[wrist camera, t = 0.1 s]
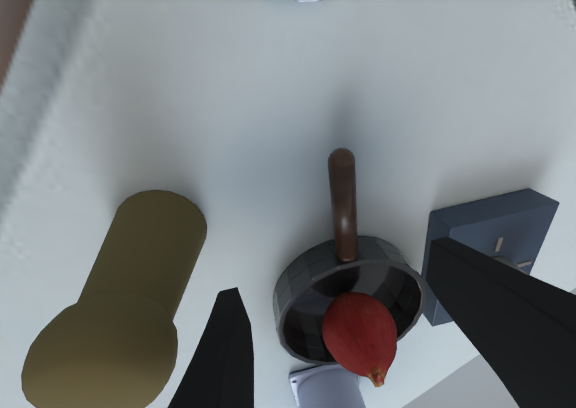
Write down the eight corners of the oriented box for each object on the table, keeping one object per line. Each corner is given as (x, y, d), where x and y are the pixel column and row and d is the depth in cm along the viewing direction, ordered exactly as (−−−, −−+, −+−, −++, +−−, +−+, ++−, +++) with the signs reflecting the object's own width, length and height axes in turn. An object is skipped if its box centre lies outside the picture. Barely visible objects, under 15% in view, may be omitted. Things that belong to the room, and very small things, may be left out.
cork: (223, 218, 19) (211, 377, 10) (180, 272, 21) (136, 451, 12) (139, 173, 17) (14, 330, 7) (98, 239, 19) (-44, 434, 9)
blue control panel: (496, 285, 29) (518, 305, 27) (417, 306, 28) (433, 328, 26) (529, 188, 23) (562, 203, 21) (430, 211, 22) (452, 229, 20)
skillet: (403, 318, 29) (419, 344, 26) (285, 348, 28) (290, 378, 26) (412, 220, 22) (435, 242, 20) (259, 256, 22) (262, 284, 19)
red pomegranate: (383, 275, 25) (440, 361, 18) (356, 317, 27) (397, 407, 20) (326, 267, 23) (365, 358, 16) (303, 312, 25) (328, 409, 19)
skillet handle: (353, 250, 21) (361, 264, 20) (333, 255, 21) (340, 269, 20) (348, 142, 17) (358, 150, 15) (323, 147, 16) (331, 156, 15)
